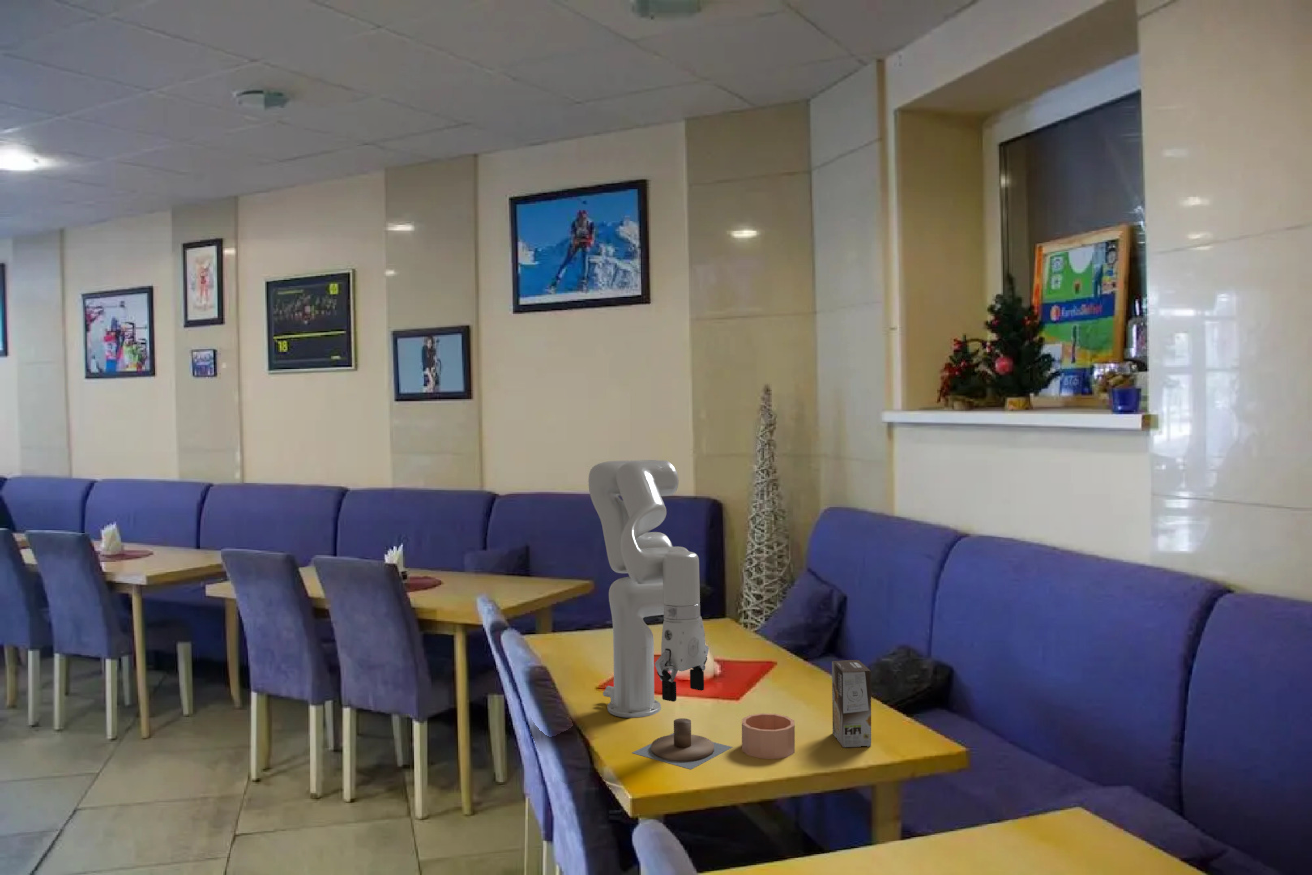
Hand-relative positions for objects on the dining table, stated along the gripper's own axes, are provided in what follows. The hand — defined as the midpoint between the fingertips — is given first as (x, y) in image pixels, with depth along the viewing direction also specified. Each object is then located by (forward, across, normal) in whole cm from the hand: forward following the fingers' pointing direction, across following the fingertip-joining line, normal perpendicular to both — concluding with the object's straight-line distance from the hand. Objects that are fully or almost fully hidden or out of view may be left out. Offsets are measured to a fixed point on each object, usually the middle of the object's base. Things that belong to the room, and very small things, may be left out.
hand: (683, 694), depth 194 cm
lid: (+12, +1, +1) cm, 12 cm away
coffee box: (+13, +28, -24) cm, 39 cm away
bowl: (+12, +12, -13) cm, 21 cm away
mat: (+12, +1, +1) cm, 12 cm away
